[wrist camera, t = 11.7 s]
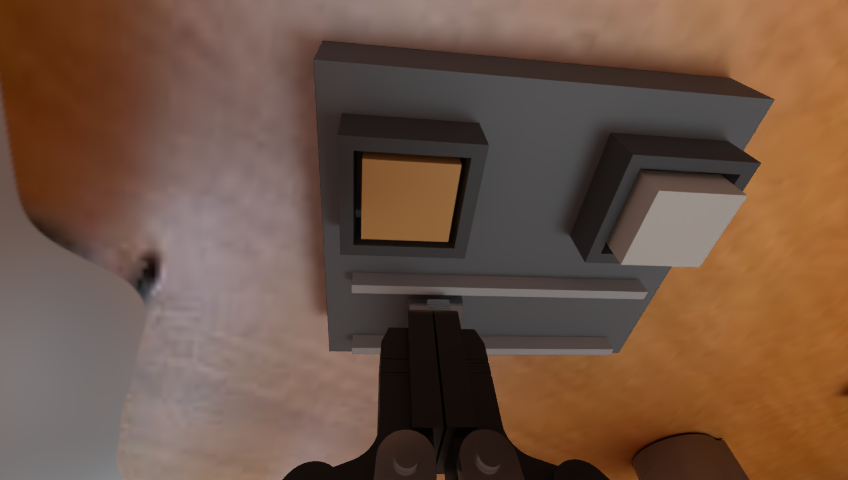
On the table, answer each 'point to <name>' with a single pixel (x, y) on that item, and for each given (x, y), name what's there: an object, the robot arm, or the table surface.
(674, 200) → the off-white button
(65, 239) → the table surface
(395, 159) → the orange button
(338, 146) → the control panel
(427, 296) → the metal slider handle
